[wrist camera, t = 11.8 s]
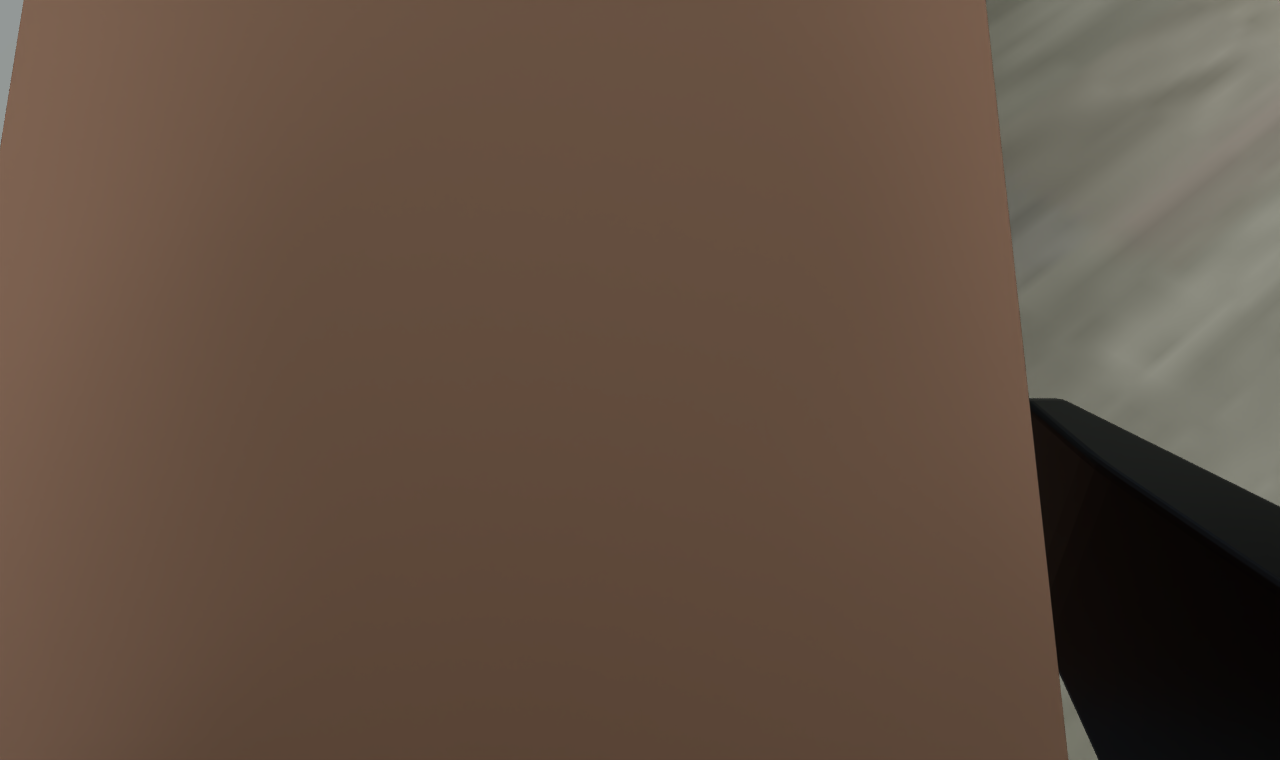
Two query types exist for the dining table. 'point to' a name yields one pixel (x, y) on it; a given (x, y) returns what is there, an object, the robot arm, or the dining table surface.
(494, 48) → the terracotta block
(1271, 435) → the dining table surface
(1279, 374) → the dining table surface
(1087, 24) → the dining table surface
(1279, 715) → the robot arm
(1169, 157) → the dining table surface
